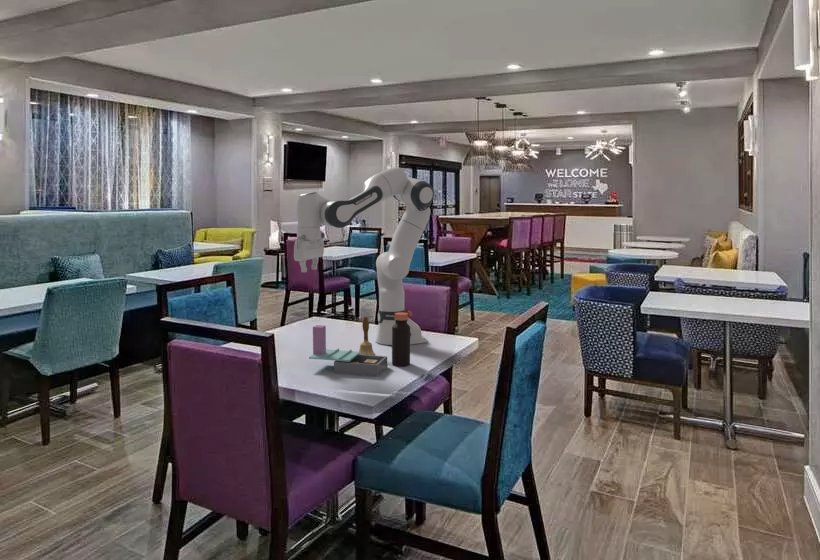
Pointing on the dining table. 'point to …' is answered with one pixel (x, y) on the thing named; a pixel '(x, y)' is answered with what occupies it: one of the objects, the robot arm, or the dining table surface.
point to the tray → (361, 366)
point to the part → (370, 361)
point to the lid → (324, 353)
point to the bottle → (401, 340)
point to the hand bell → (366, 340)
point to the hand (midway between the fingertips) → (309, 270)
